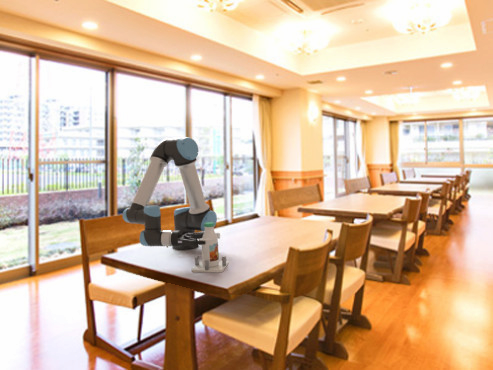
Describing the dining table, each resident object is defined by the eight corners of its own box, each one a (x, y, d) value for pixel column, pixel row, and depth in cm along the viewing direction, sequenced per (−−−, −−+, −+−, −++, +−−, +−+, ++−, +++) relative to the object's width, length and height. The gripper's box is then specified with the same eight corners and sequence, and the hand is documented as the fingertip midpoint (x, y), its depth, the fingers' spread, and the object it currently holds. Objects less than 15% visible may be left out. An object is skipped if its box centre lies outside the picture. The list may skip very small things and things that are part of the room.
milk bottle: (203, 268, 159) (202, 224, 157) (201, 263, 166) (199, 222, 165) (220, 266, 161) (219, 223, 159) (217, 262, 168) (215, 220, 167)
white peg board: (199, 262, 172) (199, 252, 172) (229, 262, 170) (229, 252, 169) (190, 271, 157) (190, 261, 157) (222, 272, 155) (222, 261, 155)
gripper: (181, 240, 178) (222, 240, 175) (162, 253, 153) (210, 254, 150) (181, 225, 177) (222, 225, 174) (162, 236, 153) (209, 236, 150)
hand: (216, 238), depth 162 cm, fingers open, 13 cm apart
